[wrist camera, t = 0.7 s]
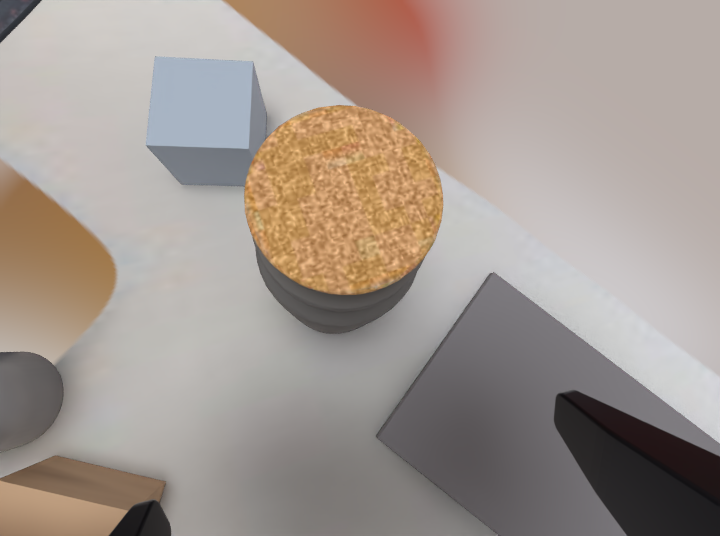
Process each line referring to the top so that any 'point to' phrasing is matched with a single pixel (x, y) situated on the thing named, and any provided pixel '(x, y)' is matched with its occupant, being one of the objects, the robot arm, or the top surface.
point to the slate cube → (206, 119)
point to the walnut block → (70, 498)
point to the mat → (516, 417)
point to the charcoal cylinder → (27, 397)
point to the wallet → (14, 14)
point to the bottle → (341, 214)
